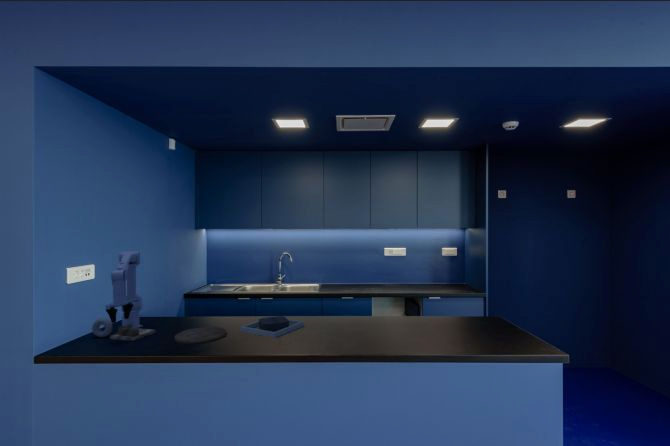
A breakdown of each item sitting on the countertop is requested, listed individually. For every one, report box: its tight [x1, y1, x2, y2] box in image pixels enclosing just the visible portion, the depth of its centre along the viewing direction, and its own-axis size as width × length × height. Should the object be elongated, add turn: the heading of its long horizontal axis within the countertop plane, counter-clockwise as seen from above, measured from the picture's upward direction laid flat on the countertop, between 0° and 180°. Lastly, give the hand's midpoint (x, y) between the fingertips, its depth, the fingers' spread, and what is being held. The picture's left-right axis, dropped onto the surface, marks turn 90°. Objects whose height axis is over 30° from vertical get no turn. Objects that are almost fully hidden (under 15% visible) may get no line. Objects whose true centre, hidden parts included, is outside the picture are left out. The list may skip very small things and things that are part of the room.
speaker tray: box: [240, 319, 305, 339], centre depth 205 cm, size 24×24×2 cm
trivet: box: [174, 326, 227, 345], centre depth 194 cm, size 25×25×2 cm
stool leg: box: [117, 325, 140, 336], centre depth 194 cm, size 12×3×4 cm, turn 72°
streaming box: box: [258, 315, 290, 332], centre depth 205 cm, size 14×14×5 cm
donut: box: [91, 317, 113, 338], centre depth 197 cm, size 10×4×10 cm, turn 93°
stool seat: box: [109, 324, 157, 342], centre depth 198 cm, size 15×15×4 cm
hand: (120, 320), depth 189 cm, fingers open, 7 cm apart
